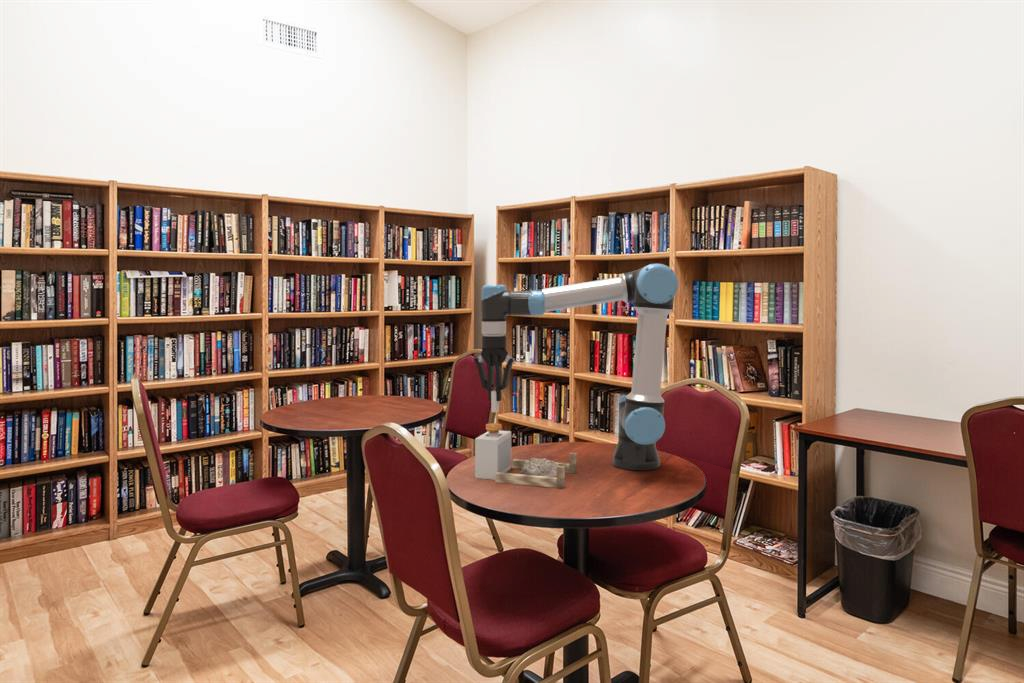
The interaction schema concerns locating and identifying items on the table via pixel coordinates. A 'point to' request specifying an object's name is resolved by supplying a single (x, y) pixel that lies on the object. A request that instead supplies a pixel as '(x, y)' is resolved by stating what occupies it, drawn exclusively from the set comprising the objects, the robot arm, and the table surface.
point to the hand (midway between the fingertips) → (495, 411)
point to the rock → (540, 467)
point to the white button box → (492, 454)
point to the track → (539, 480)
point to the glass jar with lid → (493, 429)
